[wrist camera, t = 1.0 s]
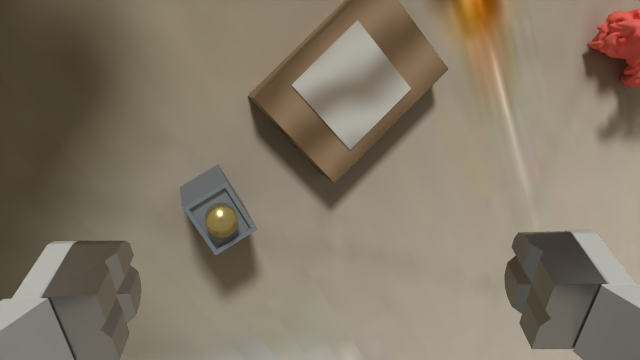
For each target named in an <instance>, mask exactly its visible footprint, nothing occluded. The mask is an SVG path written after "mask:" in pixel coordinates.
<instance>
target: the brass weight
mask: <svg viewBox="0 0 640 360" xmlns="http://www.w3.org/2000/svg"><path fill="white" fill-rule="evenodd" d="M205 222H206V226H207V229H208V231H209V232H210V233H211V234H212V235H213V236H215V237H218V238H224V237H228V236H230V235H231V234H233V233H234V232H235V230H236V229H237V226H238V218H237V215H236V213H235V211H234V209H233V208H232V207H231V206H230V205H228V204H226V203H216V204H214V205H212V206H211V207H209V209H208V210H207V211H206V214H205Z"/></svg>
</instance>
